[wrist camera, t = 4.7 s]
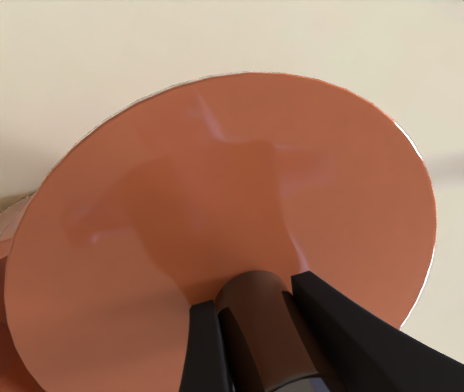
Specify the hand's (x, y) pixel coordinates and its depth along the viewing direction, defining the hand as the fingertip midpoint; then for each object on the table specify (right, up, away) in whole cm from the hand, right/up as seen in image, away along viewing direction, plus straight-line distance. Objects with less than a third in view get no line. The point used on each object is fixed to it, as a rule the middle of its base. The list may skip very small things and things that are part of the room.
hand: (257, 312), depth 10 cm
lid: (0, 0, +1) cm, 1 cm away
